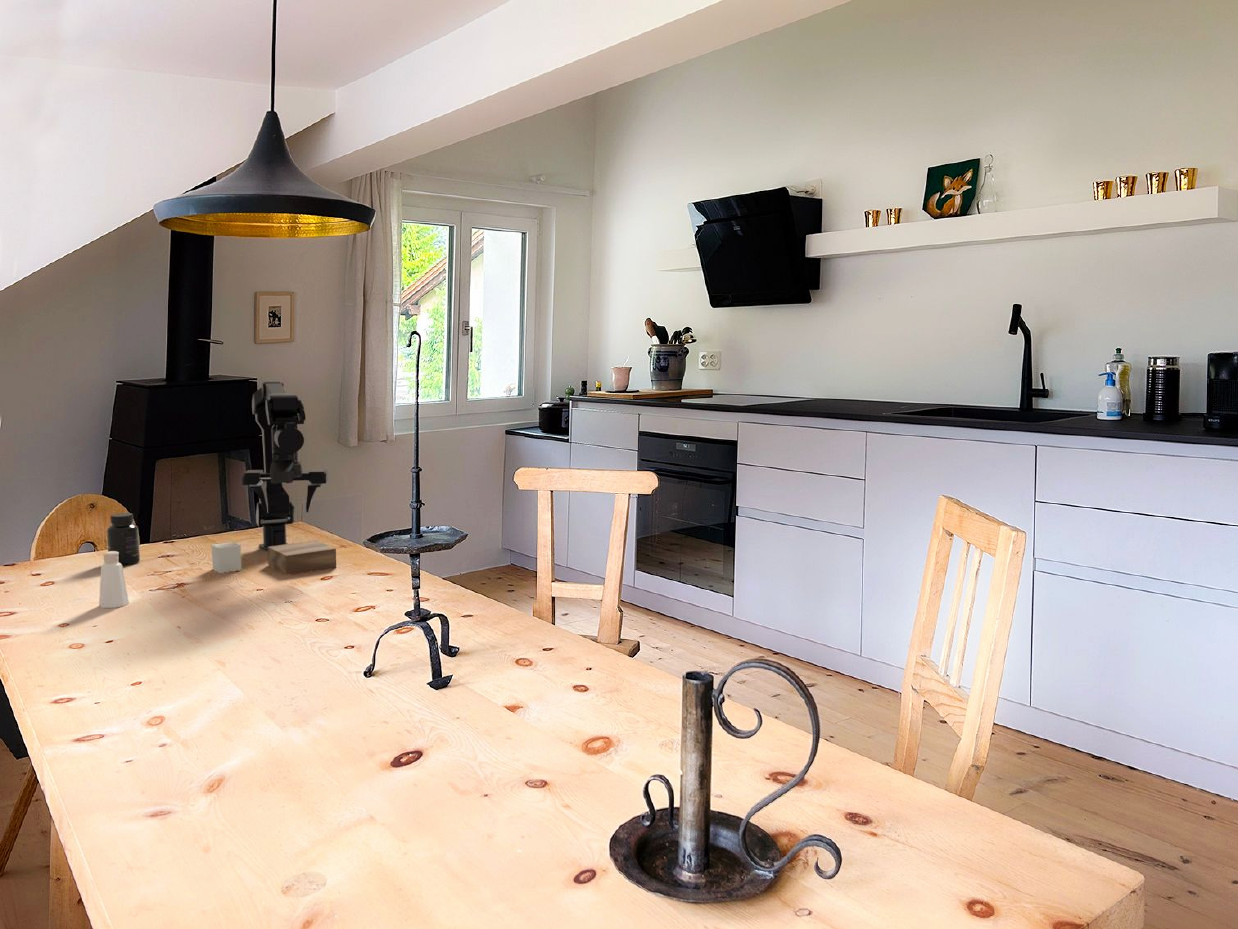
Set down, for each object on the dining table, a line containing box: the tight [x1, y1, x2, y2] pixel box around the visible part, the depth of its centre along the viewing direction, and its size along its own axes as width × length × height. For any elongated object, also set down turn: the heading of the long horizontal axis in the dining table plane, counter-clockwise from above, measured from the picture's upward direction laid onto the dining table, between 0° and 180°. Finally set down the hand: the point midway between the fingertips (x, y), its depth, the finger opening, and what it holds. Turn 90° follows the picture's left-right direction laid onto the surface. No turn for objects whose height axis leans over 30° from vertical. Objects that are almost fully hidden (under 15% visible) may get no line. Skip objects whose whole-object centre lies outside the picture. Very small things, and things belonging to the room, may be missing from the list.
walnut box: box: [267, 540, 337, 576], centre depth 228 cm, size 12×12×5 cm
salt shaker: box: [98, 551, 130, 609], centre depth 194 cm, size 5×5×11 cm
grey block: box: [211, 541, 242, 574], centre depth 224 cm, size 5×5×6 cm
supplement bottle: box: [106, 512, 141, 567], centre depth 229 cm, size 7×7×12 cm
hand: (287, 512), depth 225 cm, fingers open, 9 cm apart
